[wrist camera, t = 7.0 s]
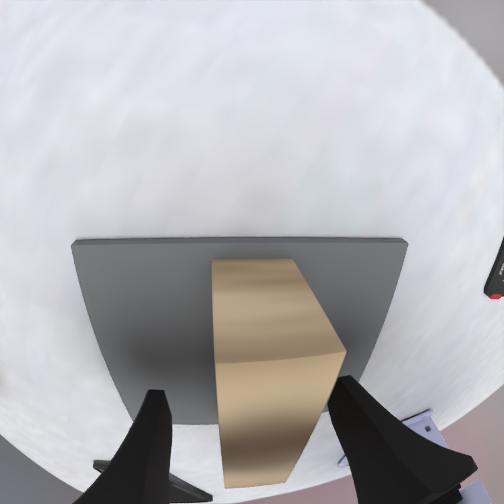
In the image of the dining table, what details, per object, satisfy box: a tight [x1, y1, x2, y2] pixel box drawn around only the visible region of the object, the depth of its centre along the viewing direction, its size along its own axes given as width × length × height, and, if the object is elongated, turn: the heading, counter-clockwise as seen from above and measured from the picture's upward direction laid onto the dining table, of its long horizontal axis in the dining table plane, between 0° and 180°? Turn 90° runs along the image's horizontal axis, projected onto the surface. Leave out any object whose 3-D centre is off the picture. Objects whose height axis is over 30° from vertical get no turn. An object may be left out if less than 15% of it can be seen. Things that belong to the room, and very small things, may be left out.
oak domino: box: [212, 259, 347, 489], centre depth 10 cm, size 10×3×5 cm, turn 177°
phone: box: [93, 460, 213, 503], centre depth 21 cm, size 8×1×15 cm
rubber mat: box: [71, 238, 408, 425], centre depth 13 cm, size 14×12×1 cm
